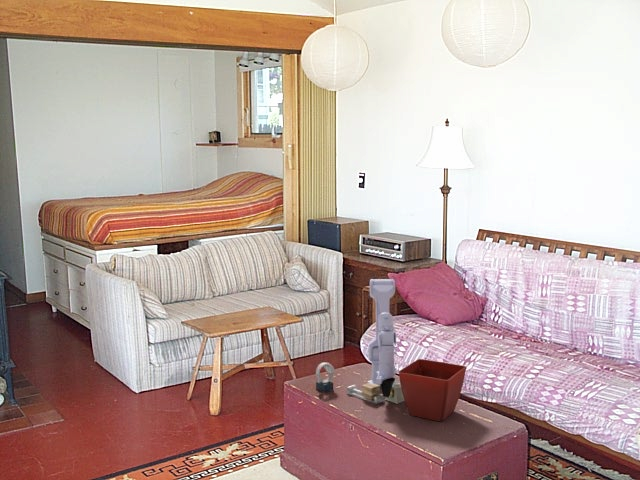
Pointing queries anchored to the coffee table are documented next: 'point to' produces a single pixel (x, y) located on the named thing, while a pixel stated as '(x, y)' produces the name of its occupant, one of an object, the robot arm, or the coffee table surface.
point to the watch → (324, 384)
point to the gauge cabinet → (396, 393)
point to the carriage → (370, 390)
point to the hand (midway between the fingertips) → (386, 396)
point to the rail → (357, 393)
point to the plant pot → (431, 388)
